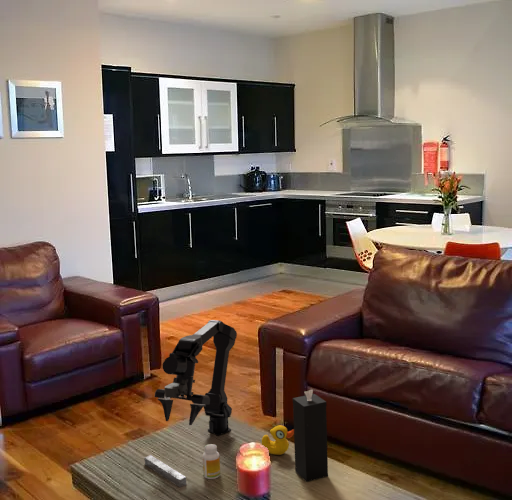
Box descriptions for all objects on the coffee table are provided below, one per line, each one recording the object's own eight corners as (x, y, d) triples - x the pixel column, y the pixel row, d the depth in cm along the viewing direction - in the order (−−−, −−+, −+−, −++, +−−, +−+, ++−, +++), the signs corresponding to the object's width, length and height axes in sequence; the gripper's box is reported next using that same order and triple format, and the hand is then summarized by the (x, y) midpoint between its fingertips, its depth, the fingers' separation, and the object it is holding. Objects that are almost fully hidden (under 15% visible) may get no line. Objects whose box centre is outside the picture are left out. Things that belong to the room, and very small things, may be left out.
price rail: (152, 461, 213) (151, 454, 213) (187, 484, 197) (186, 476, 197) (144, 464, 212) (144, 457, 211) (179, 487, 196) (179, 479, 195)
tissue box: (294, 471, 203) (292, 388, 199) (316, 466, 206) (314, 383, 202) (306, 482, 195) (303, 396, 191) (328, 476, 198) (326, 391, 194)
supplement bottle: (224, 474, 203) (222, 446, 201) (211, 481, 199) (210, 452, 197) (212, 469, 206) (211, 441, 205) (200, 475, 202) (198, 447, 201)
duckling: (295, 450, 217) (295, 423, 216) (294, 457, 212) (293, 429, 210) (263, 449, 219) (262, 422, 218) (260, 456, 214) (259, 428, 212)
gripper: (148, 371, 210) (141, 419, 207) (196, 377, 202) (189, 428, 199) (167, 373, 220) (160, 418, 217) (213, 379, 211) (207, 427, 209)
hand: (178, 423), depth 210 cm, fingers open, 9 cm apart
